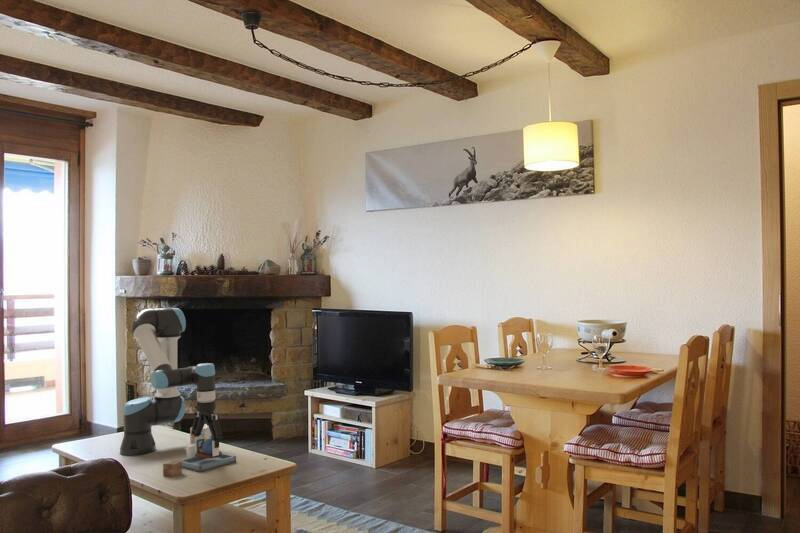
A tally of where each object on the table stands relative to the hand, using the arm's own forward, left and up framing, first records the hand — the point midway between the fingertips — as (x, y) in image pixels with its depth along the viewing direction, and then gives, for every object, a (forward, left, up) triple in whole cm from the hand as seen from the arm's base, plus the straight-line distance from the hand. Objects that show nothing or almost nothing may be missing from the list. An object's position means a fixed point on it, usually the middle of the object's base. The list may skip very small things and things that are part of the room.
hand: (207, 453), depth 274 cm
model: (0, +1, -1) cm, 1 cm away
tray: (0, 0, -4) cm, 4 cm away
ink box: (-19, +12, -5) cm, 23 cm away
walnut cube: (+1, -17, -4) cm, 18 cm away
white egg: (-12, +1, -4) cm, 13 cm away
